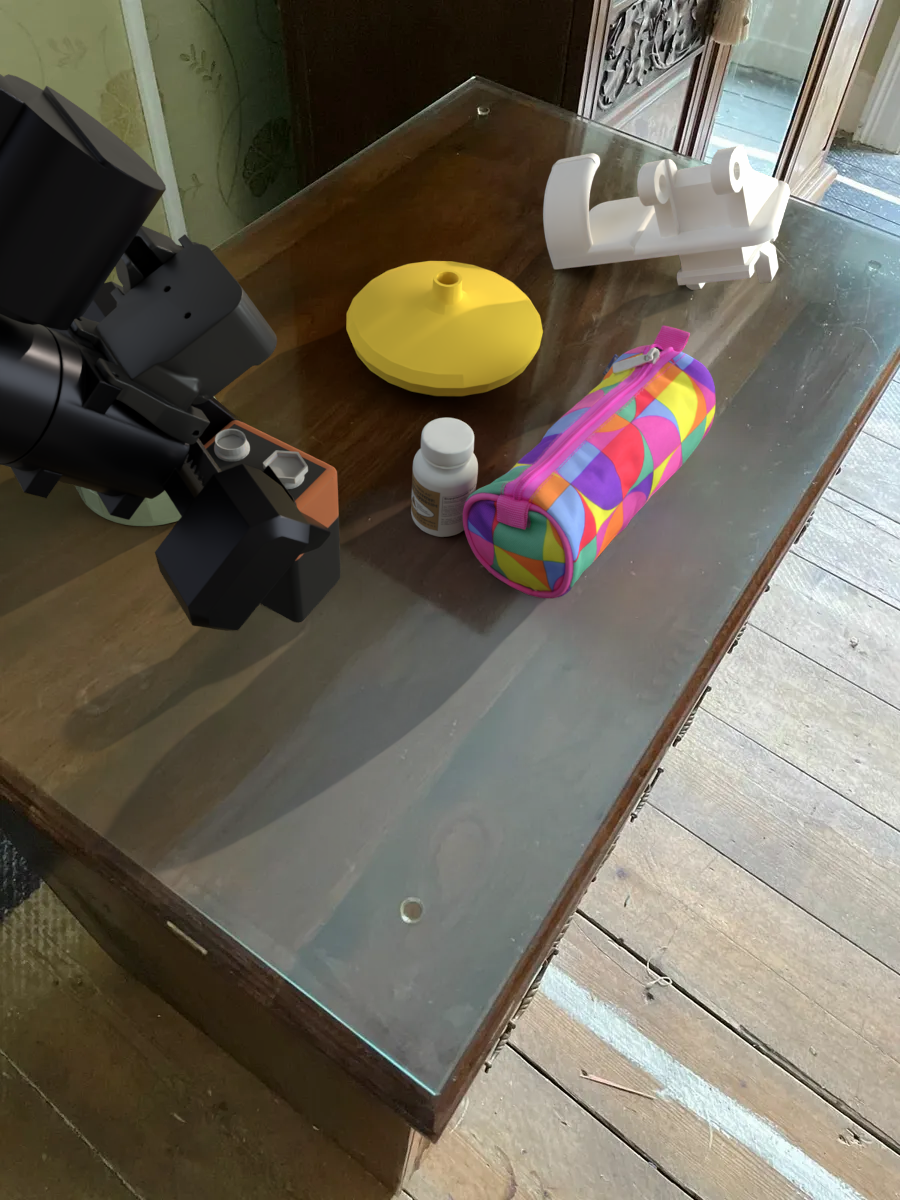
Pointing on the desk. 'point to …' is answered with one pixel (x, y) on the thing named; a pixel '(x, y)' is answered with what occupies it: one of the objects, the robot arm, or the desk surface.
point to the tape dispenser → (670, 218)
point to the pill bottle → (443, 476)
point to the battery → (313, 497)
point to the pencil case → (593, 469)
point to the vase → (444, 328)
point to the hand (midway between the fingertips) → (288, 489)
